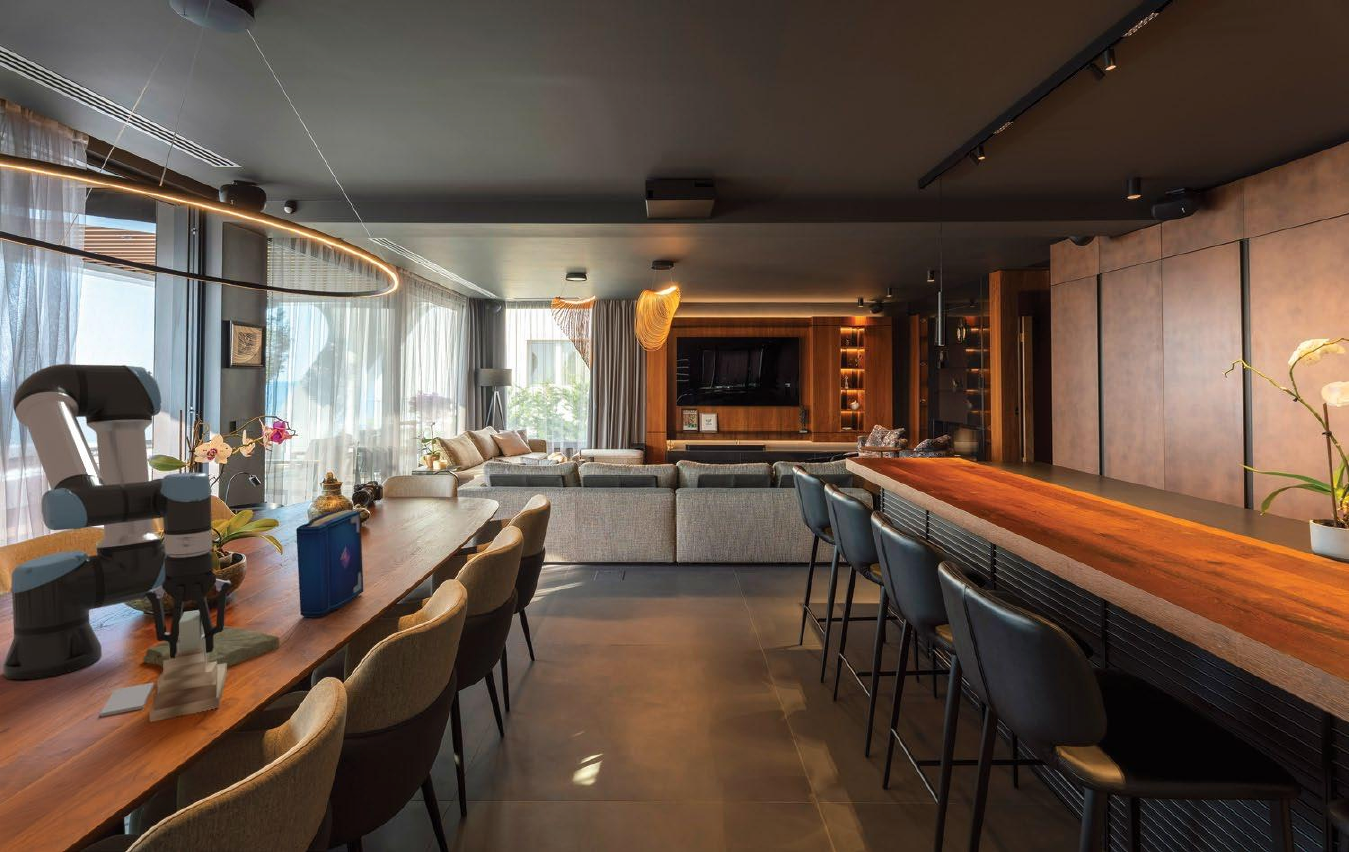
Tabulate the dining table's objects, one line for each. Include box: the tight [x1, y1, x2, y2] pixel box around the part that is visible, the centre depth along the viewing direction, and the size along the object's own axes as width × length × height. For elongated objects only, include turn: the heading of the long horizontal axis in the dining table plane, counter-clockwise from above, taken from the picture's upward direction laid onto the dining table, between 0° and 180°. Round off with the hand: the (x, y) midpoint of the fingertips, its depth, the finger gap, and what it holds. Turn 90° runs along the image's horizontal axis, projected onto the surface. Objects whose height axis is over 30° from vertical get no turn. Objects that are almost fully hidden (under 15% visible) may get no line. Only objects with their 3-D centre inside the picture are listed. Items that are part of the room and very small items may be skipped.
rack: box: [149, 633, 228, 723], centre depth 125 cm, size 10×18×9 cm, turn 30°
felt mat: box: [99, 682, 155, 718], centre depth 123 cm, size 6×11×1 cm, turn 31°
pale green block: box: [178, 609, 203, 652], centre depth 128 cm, size 3×7×12 cm, turn 30°
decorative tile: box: [142, 625, 280, 668], centre depth 144 cm, size 19×20×4 cm
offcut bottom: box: [153, 676, 217, 711], centre depth 120 cm, size 9×6×2 cm, turn 123°
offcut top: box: [162, 653, 205, 681], centre depth 119 cm, size 6×5×2 cm
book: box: [295, 509, 364, 618], centre depth 177 cm, size 22×7×25 cm, turn 179°
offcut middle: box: [156, 661, 218, 693], centre depth 120 cm, size 8×5×2 cm, turn 115°
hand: (192, 670), depth 128 cm, fingers closed on pale green block, 3 cm apart
